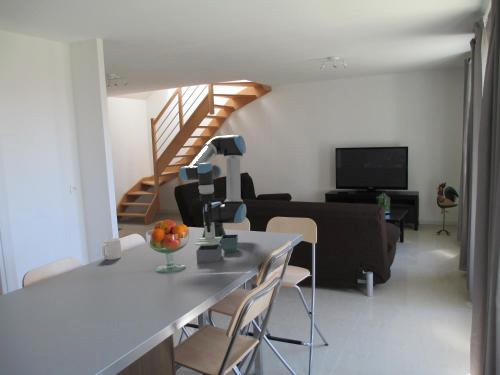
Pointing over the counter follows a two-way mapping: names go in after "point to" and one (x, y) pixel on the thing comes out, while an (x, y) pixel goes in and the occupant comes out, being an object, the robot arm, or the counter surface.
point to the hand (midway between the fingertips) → (210, 237)
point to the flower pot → (229, 243)
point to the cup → (112, 249)
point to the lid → (209, 241)
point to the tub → (209, 253)
